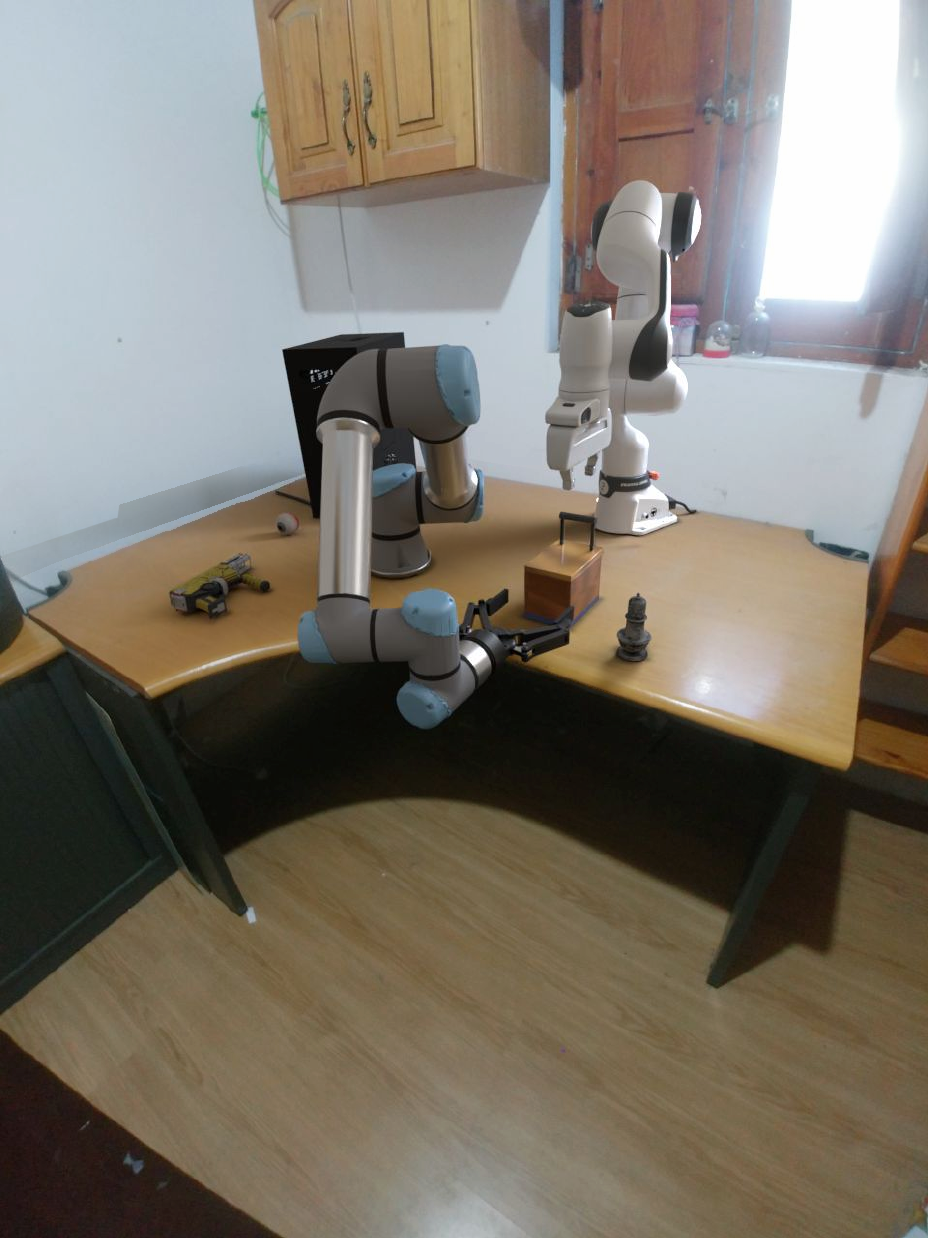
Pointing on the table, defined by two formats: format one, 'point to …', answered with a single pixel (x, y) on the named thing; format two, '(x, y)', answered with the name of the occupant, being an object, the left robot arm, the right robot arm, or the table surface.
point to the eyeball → (287, 523)
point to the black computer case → (309, 395)
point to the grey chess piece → (634, 631)
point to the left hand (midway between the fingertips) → (538, 603)
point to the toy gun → (214, 587)
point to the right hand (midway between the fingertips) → (579, 481)
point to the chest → (561, 594)
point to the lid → (566, 553)
